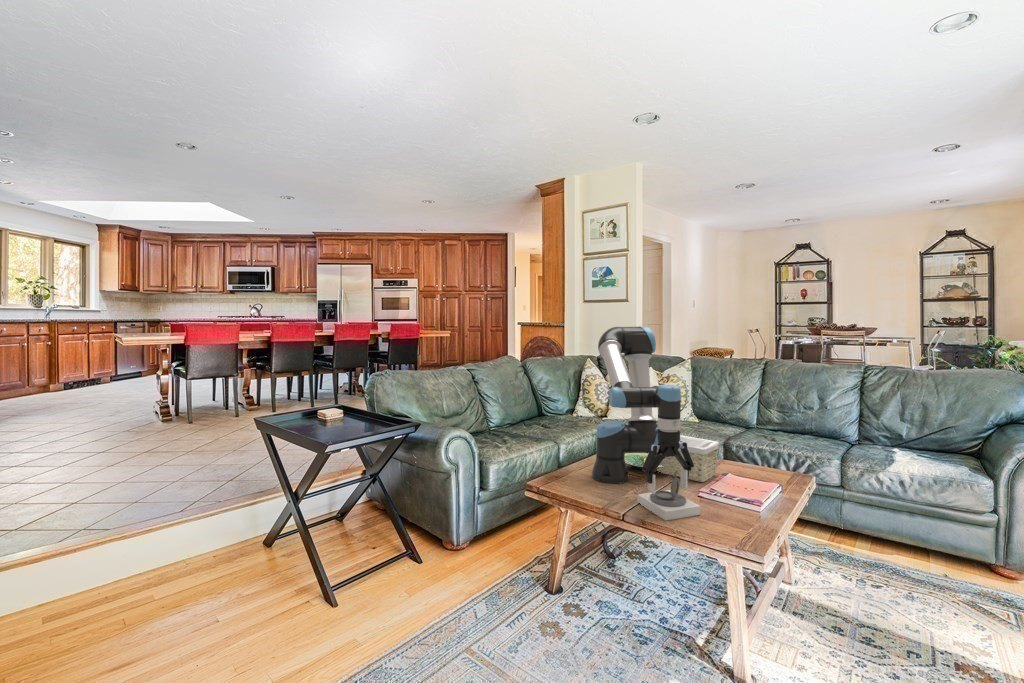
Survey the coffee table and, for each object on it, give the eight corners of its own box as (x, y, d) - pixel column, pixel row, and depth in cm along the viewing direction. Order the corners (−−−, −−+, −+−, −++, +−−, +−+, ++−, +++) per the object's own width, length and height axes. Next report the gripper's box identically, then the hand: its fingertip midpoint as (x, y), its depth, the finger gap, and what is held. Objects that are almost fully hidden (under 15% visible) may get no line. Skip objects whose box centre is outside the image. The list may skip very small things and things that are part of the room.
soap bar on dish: (637, 502, 168) (637, 492, 168) (669, 497, 173) (669, 487, 173) (665, 520, 153) (665, 509, 153) (700, 514, 158) (700, 503, 158)
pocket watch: (652, 493, 167) (653, 465, 167) (676, 493, 167) (677, 466, 166) (658, 502, 159) (659, 473, 159) (683, 502, 159) (684, 473, 158)
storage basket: (649, 471, 203) (649, 438, 202) (666, 463, 215) (667, 431, 214) (704, 485, 186) (704, 448, 186) (719, 475, 198) (720, 441, 197)
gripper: (644, 435, 154) (644, 498, 155) (705, 429, 162) (704, 489, 163) (632, 430, 161) (631, 490, 162) (690, 424, 170) (689, 482, 171)
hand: (668, 489), depth 163 cm, fingers open, 13 cm apart
